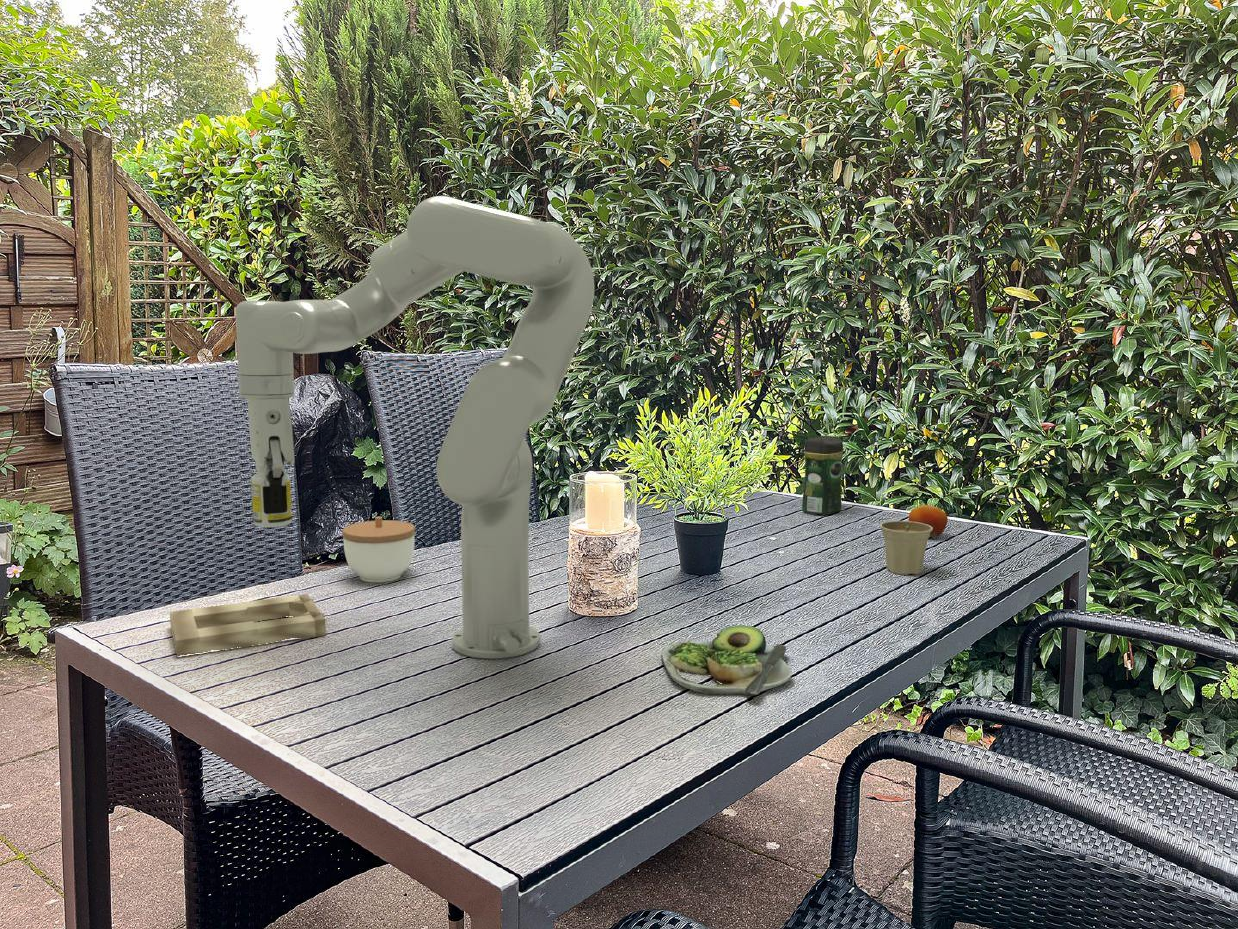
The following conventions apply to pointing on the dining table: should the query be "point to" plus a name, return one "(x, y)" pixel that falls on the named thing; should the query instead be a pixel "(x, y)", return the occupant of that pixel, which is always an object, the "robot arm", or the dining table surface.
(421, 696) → the dining table surface
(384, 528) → the lidded bowl
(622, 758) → the dining table surface
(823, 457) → the coffee jar
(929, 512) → the fruit
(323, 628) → the beige flat rectangular frame
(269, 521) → the supplement bottle
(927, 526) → the flower pot
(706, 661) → the avocado toast plate
